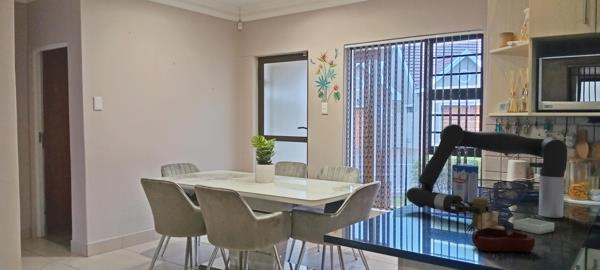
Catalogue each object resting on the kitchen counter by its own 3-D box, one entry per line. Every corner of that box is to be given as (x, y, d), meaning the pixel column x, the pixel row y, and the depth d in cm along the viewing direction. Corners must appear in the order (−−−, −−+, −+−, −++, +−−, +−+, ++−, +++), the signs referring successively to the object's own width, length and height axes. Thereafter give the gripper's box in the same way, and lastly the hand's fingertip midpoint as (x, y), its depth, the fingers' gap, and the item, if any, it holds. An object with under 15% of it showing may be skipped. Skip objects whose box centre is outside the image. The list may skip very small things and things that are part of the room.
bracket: (493, 226, 181) (493, 202, 181) (505, 228, 177) (506, 205, 176) (477, 228, 176) (478, 204, 175) (490, 231, 171) (491, 207, 171)
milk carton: (451, 207, 219) (452, 164, 219) (461, 206, 222) (462, 164, 221) (467, 211, 210) (468, 166, 210) (477, 210, 213) (478, 166, 212)
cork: (489, 228, 177) (490, 199, 177) (472, 227, 178) (473, 198, 178) (486, 224, 183) (487, 196, 183) (469, 224, 184) (470, 196, 184)
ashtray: (513, 242, 159) (513, 227, 158) (539, 256, 142) (539, 239, 142) (460, 241, 158) (461, 226, 158) (481, 255, 142) (481, 239, 141)
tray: (528, 225, 183) (528, 217, 183) (554, 230, 175) (554, 222, 175) (513, 228, 178) (513, 220, 177) (539, 234, 169) (539, 225, 169)
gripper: (436, 195, 189) (472, 201, 175) (460, 192, 197) (496, 198, 183) (436, 214, 189) (472, 222, 175) (459, 210, 197) (495, 218, 183)
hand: (484, 210), depth 179 cm, fingers open, 6 cm apart
